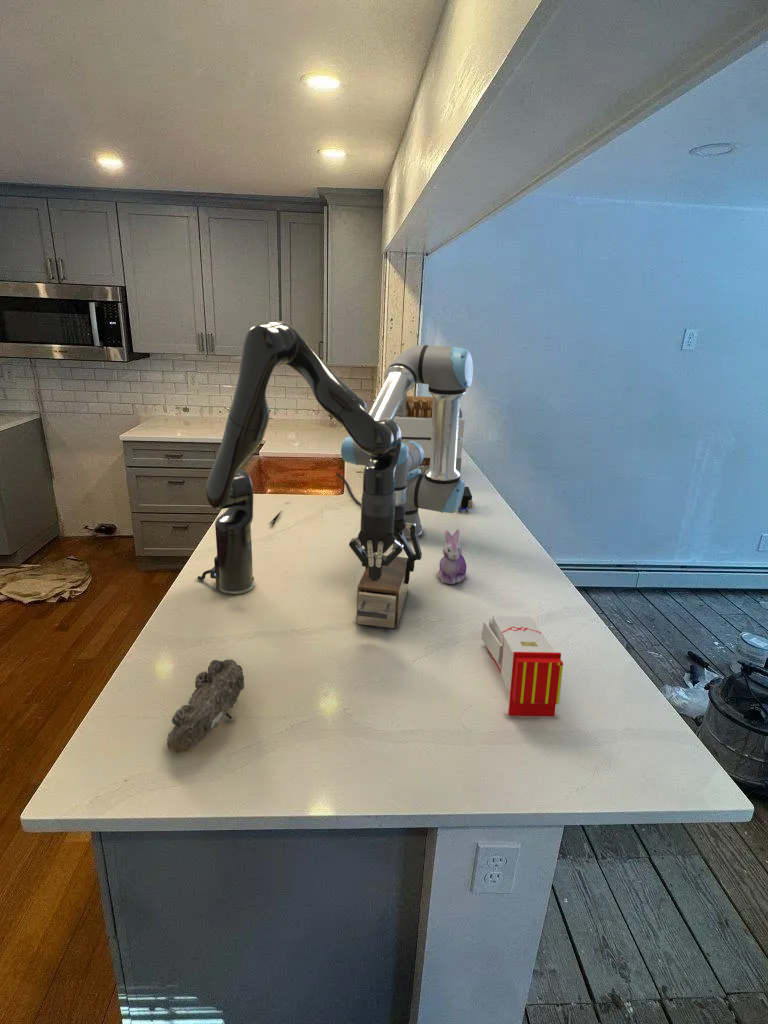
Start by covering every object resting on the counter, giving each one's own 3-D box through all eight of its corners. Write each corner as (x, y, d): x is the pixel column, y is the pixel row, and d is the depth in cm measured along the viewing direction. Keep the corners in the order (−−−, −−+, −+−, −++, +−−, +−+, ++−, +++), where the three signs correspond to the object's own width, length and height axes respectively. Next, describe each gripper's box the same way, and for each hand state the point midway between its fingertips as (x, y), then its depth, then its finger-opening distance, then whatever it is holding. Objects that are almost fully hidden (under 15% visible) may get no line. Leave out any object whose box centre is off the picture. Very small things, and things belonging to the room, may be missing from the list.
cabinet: (397, 627, 141) (399, 591, 138) (356, 622, 143) (357, 586, 139) (407, 591, 160) (409, 557, 156) (371, 586, 161) (372, 553, 158)
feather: (288, 505, 226) (290, 501, 226) (271, 529, 199) (273, 524, 199) (284, 503, 226) (287, 499, 225) (266, 526, 199) (269, 522, 199)
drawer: (390, 641, 134) (391, 610, 131) (352, 636, 135) (352, 605, 132) (403, 593, 156) (405, 565, 154) (371, 589, 158) (372, 562, 155)
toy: (528, 601, 136) (572, 659, 107) (523, 653, 139) (565, 722, 110) (478, 600, 136) (508, 657, 107) (474, 652, 139) (503, 722, 109)
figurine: (448, 588, 162) (452, 539, 157) (429, 573, 171) (432, 527, 166) (475, 582, 166) (480, 534, 161) (455, 568, 175) (459, 522, 170)
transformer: (382, 463, 289) (386, 382, 275) (445, 464, 293) (451, 384, 279) (390, 482, 257) (394, 392, 243) (460, 483, 261) (468, 394, 247)
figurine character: (472, 517, 222) (467, 501, 236) (475, 500, 219) (469, 484, 233) (455, 517, 222) (451, 500, 236) (457, 499, 219) (452, 484, 232)
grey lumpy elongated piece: (192, 660, 117) (244, 628, 112) (224, 691, 120) (276, 661, 115) (142, 746, 98) (202, 712, 93) (182, 779, 101) (242, 748, 96)
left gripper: (345, 512, 124) (343, 583, 130) (405, 518, 122) (400, 590, 128) (352, 501, 131) (350, 569, 137) (409, 507, 129) (405, 576, 135)
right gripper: (344, 502, 145) (343, 580, 152) (434, 511, 142) (427, 590, 149) (350, 494, 152) (349, 568, 159) (436, 502, 149) (430, 578, 156)
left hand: (375, 579), depth 132 cm, fingers closed
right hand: (387, 579), depth 154 cm, fingers closed on cabinet, 10 cm apart
